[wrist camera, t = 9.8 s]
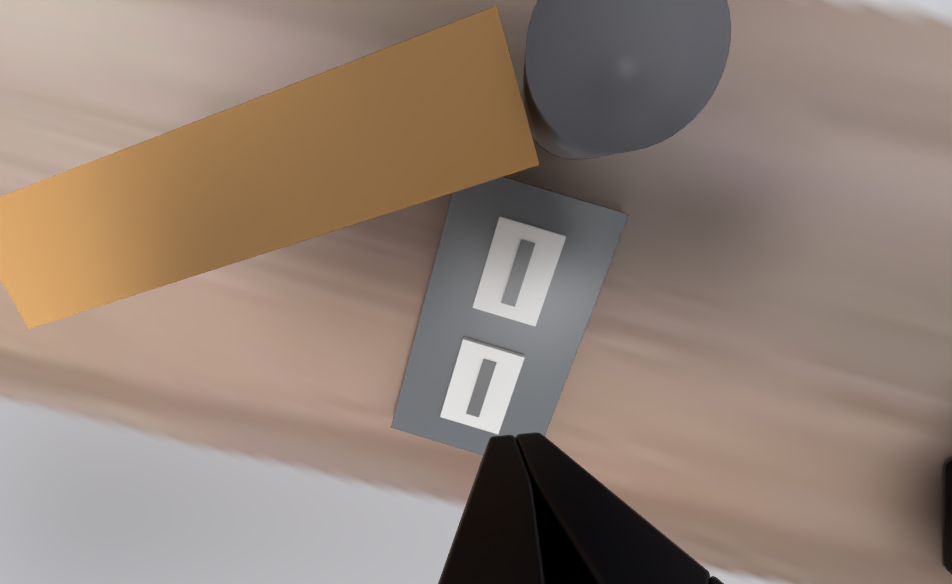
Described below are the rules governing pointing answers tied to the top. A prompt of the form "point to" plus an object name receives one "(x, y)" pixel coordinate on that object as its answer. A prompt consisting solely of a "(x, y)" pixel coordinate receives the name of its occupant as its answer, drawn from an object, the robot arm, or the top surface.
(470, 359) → the label plate
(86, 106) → the top surface
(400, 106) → the swing bar
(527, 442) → the robot arm
